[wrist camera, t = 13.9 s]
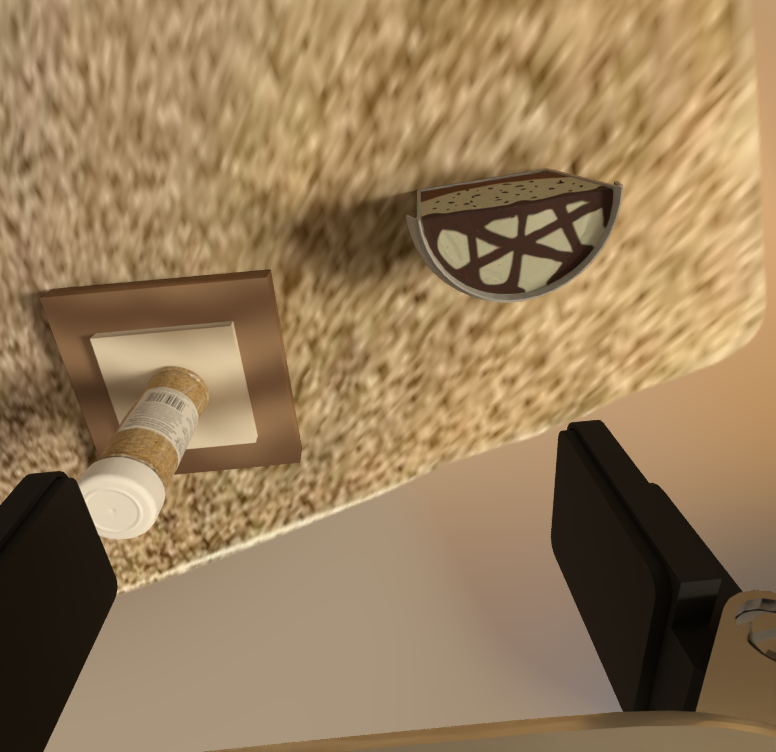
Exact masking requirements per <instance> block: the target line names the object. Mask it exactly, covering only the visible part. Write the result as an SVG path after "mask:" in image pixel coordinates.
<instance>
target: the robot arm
mask: <svg viewBox="0 0 776 752" xmlns="http://www.w3.org/2000/svg"><path fill="white" fill-rule="evenodd" d="M551 543H552V548H553V552H554V555H555V557H556V560H557V562H558V564H559V566H560V569H561V571H562V573H563V576H564V578H565V580H566V582H567V585H568V587H569V589H570V591H571V594H572V596H573V598H574V601H575V603H576V605H577V608H578V610H579V612H580V615H581V617H582V619H583V621H584V624H585V626H586V628H587V630H588V633H589V635H590V637H591V640H592V642H593V644H594V646H595V649H596V651H597V653H598V656H599V658H600V660H601V663H602V664H603V667H604V669H605V672H606V674H607V676H608V679H609V681H610V683H611V685H612V687H613V690H614V692H615V695H616V697H617V699H618V701H619V704H620V706H621V708H622V710H623V712H612V713H601V714H587V715H575V716H562V717H550V718H538V719H525V720H513V721H503V722H492V723H482V724H472V725H462V726H452V727H441V728H431V729H421V730H411V731H401V732H391V733H380V734H370V735H360V736H350V737H340V738H330V739H321V740H311V741H302V742H292V743H282V744H272V745H263V746H253V747H244V748H234V749H224V750H215V751H205V752H776V593H775V592H771V591H760V590H751V591H745V592H742V590H741V589H740V588H739V587H738V585H737V584H736V583H735V581H734V580H733V579H732V578H731V576H730V575H729V574H728V572H727V571H726V570H725V569H724V567H723V566H722V565H721V563H720V562H719V561H718V560H717V558H716V557H715V556H714V555H713V553H712V552H711V551H710V549H709V548H708V547H707V546H706V544H705V543H704V542H703V540H702V539H701V538H700V537H699V535H698V534H697V533H696V532H695V530H694V529H693V528H692V526H691V525H690V524H689V523H688V521H687V520H686V519H685V517H683V515H682V514H681V512H680V511H679V510H678V509H677V507H676V506H675V505H674V503H673V502H672V501H671V500H670V498H669V497H668V496H667V494H666V493H665V492H664V491H663V490H662V489H661V488H660V487H659V486H658V485H657V484H654V483H649V482H648V481H647V480H646V478H645V477H644V476H643V474H642V473H641V472H640V470H639V469H638V468H637V467H636V466H635V464H634V463H633V461H632V460H631V459H630V457H629V456H628V455H627V453H626V452H625V451H624V449H623V448H622V447H621V446H620V444H619V443H618V442H617V440H616V439H615V438H614V436H613V435H612V434H611V432H610V431H609V430H608V428H607V427H606V426H605V424H604V423H603V422H602V421H601V420H591V421H581V422H571V423H570V424H569V425H568V427H567V430H565V431H560V433H559V436H558V447H557V461H556V474H555V488H554V501H553V515H552V528H551ZM116 594H117V579H116V576H115V574H114V571H113V569H112V566H111V564H110V561H109V559H108V557H107V554H106V552H105V549H104V547H103V544H102V542H101V539H100V537H99V534H98V532H97V530H96V527H95V525H94V522H93V520H92V517H91V515H90V512H89V510H88V507H87V505H86V502H85V500H84V498H83V495H82V493H81V490H80V488H79V485H78V483H77V481H76V480H75V479H74V478H68V476H67V475H66V474H65V473H64V472H61V471H55V472H45V473H34V474H29V475H27V476H25V477H24V478H23V479H22V480H21V482H20V483H19V484H18V485H17V486H16V487H15V489H14V490H13V491H12V492H11V493H10V494H9V496H8V497H7V498H6V499H5V500H4V502H3V503H2V504H1V505H0V752H43V751H44V749H45V747H46V745H47V743H48V741H49V738H50V736H51V734H52V732H53V730H54V728H55V726H56V724H57V722H58V719H59V717H60V715H61V713H62V711H63V709H64V707H65V704H66V702H67V700H68V698H69V696H70V694H71V691H72V689H73V687H74V685H75V683H76V681H77V679H78V677H79V674H80V672H81V670H82V668H83V666H84V664H85V662H86V659H87V657H88V655H89V653H90V651H91V649H92V647H93V645H94V643H95V640H96V638H97V636H98V634H99V632H100V630H101V628H102V625H103V623H104V621H105V619H106V617H107V615H108V613H109V610H110V608H111V606H112V604H113V602H114V600H115V597H116Z"/></svg>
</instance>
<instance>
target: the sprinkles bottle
mask: <svg viewBox="0 0 776 752" xmlns="http://www.w3.org/2000/svg"><path fill="white" fill-rule="evenodd" d="M208 402H209V391H208V388H207V386H206V384H205V382H204V381H203V380H202V379H201V377H199V375H197V374H196V373H194V372H193V371H190V370H187V369H185V368H181V367H168V368H164V369H161V370H160V371H158V372H156V373H155V374H154V375H153V376H152V377H151V379H150V380H149V382H148V386H147V387H146V389H145V390H144V391H143V393H142V395H141V396H140V397H139V399H138V400H136V401H135V403H134V404H133V405H132V407H131V408H130V410H129V411H128V413H127V414H126V416H125V417H124V418H123V420H122V421H121V423H120V425H119V428H118V429H117V430H116V432H115V434H114V435H113V436H112V438H111V440H110V441H109V443H108V444H107V446H106V447H105V448H104V450H103V452H102V453H101V455H100V457H99V458H98V459H97V461H96V462H94V463H93V464H92V465H91V466H89V467H88V468H87V469H86V471H85V472H84V473H83V475H82V476H81V478H80V479H79V481H78V485H79V488H80V490H81V493H82V495H83V498H84V500H85V502H86V505H87V507H88V510H89V512H90V515H91V517H92V520H93V522H94V525H95V527H96V530H97V532H98V534H99V536H102V537H105V538H109V539H129V538H133V537H136V536H139V535H141V534H143V533H145V532H146V531H147V530H148V529H149V528H150V527H151V526H152V525H153V523H154V522H155V520H156V518H157V516H158V514H159V512H160V510H161V508H162V506H163V503H164V500H165V493H166V489H167V487H168V485H169V483H170V481H171V478H172V476H173V474H174V473H175V471H176V470H177V467H178V465H179V463H180V461H181V459H182V457H183V454H184V452H185V450H186V448H187V446H188V444H189V442H190V440H191V437H192V435H193V433H194V431H195V429H196V427H197V423H198V421H199V418H200V416H201V414H202V412H203V411H204V410H205V408H206V407H207V405H208Z"/></svg>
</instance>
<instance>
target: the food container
mask: <svg viewBox="0 0 776 752" xmlns="http://www.w3.org/2000/svg"><path fill="white" fill-rule="evenodd" d="M622 193H623V185H622V184H620V183H619V182H618V181H614V185H612V184H608V183H604V182H600V181H596V180H592V179H588V178H584V177H580V176H576V175H572V174H568V173H564V172H560V171H556V170H552V169H542V170H536V171H530V172H524V173H518V174H511V175H505V176H499V177H493V178H487V179H481V180H475V181H468V182H462V183H456V184H450V185H444V186H438V187H432V188H425V189H419V190H417V218H413V217H411V216H409V215H406V220H407V224H408V229H409V232H410V235H411V238H412V240H413V243H414V245H415V247H416V249H417V251H418V253H419V254H420V256H421V258H422V259H423V261H424V262H425V263H426V264H427V266H428V267H429V268H430V269H431V271H432V272H433V273H434V274H436V275H437V276H438V277H439V278H440V279H441V280H443V281H444V282H445V283H447V284H448V285H450V286H452V287H453V288H455V289H456V290H458V291H460V292H462V293H465V294H467V295H470V296H472V297H475V298H477V299H482V300H486V301H490V302H503V303H508V302H521V301H525V300H530V299H534V298H537V297H540V296H543V295H545V294H548V293H550V292H553V291H555V290H557V289H558V288H560V287H562V286H564V285H566V284H567V283H569V282H570V281H571V280H573V279H574V278H575V277H577V276H578V275H579V274H581V273H582V272H583V271H584V270H585V269H586V268H587V267H588V266H589V265H590V264H591V263H592V262H593V260H594V259H595V258H596V256H597V255H598V254H599V253H600V251H601V250H602V249H603V247H604V245H605V243H606V242H607V240H608V238H609V237H610V235H611V233H612V230H613V228H614V225H615V223H616V221H617V217H618V214H619V210H620V206H621V202H622Z"/></svg>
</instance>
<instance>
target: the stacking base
mask: <svg viewBox="0 0 776 752" xmlns="http://www.w3.org/2000/svg"><path fill="white" fill-rule="evenodd" d="M40 301H41V304H42V306H43V309H44V311H45V314H46V317H47V319H48V322H49V325H50V327H51V330H52V333H53V335H54V338H55V341H56V343H57V346H58V349H59V351H60V354H61V357H62V359H63V362H64V365H65V367H66V370H67V373H68V375H69V378H70V381H71V383H72V386H73V389H74V391H75V394H76V397H77V399H78V402H79V405H80V407H81V410H82V413H83V415H84V418H85V421H86V423H87V426H88V429H89V431H90V434H91V437H92V439H93V442H94V445H95V447H96V450H97V453H98V455H99V457H100V455H101V453H102V452H103V450H104V448H105V447H106V446H107V444H108V443H109V441H110V440H111V438H112V436H113V435H114V434H115V432H116V430H117V429H118V428H119V425H120V423H121V421H122V420H123V418H124V417H125V416H126V414H127V413H128V411H129V410H130V408H131V407H132V405H133V404H134V403H135V401H136V400H138V399H139V397H140V396H141V395H142V393H143V391H144V390H145V389H146V387H147V386H148V382H149V380H150V379H151V377H152V376H153V375H154V374H155V373H156V372H158V371H160V370H161V369H164V368H168V367H181V368H185V369H187V370H190V371H193V372H194V373H196V374H197V375H199V377H201V379H202V380H203V381H204V382H205V384H206V386H207V388H208V391H209V402H208V405H207V407H206V408H205V410H204V411H203V412H202V414H201V416H200V418H199V421H198V423H197V427H196V429H195V431H194V433H193V435H192V437H191V440H190V442H189V444H188V446H187V448H186V450H185V452H184V454H183V457H182V459H181V461H180V463H179V465H178V467H177V470H176V471H175V473H174V474H173V475H175V474H186V473H196V472H207V471H217V470H227V469H238V468H248V467H259V466H269V465H280V464H290V463H300V459H301V452H302V447H301V441H300V435H299V429H298V424H297V418H296V412H295V407H294V401H293V395H292V389H291V384H290V378H289V372H288V366H287V361H286V355H285V349H284V344H283V338H282V332H281V326H280V321H279V315H278V309H277V304H276V298H275V292H274V286H273V281H272V275H271V270H260V271H249V272H238V273H227V274H216V275H205V276H193V277H182V278H171V279H160V280H149V281H138V282H127V283H116V284H104V285H93V286H82V287H71V288H60V289H52V290H51V291H49V292H48V293H46V294H45V295H43V296H42V297H40Z"/></svg>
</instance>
